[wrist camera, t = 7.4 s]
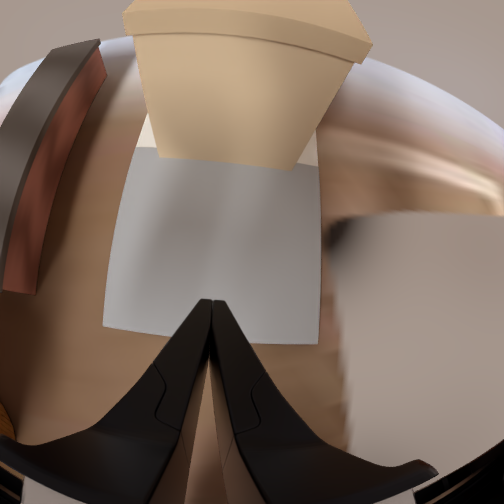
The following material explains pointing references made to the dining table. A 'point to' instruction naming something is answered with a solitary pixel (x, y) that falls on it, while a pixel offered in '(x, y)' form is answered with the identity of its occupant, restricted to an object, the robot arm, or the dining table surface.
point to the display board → (217, 245)
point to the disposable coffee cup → (5, 424)
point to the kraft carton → (242, 74)
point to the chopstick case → (41, 154)
